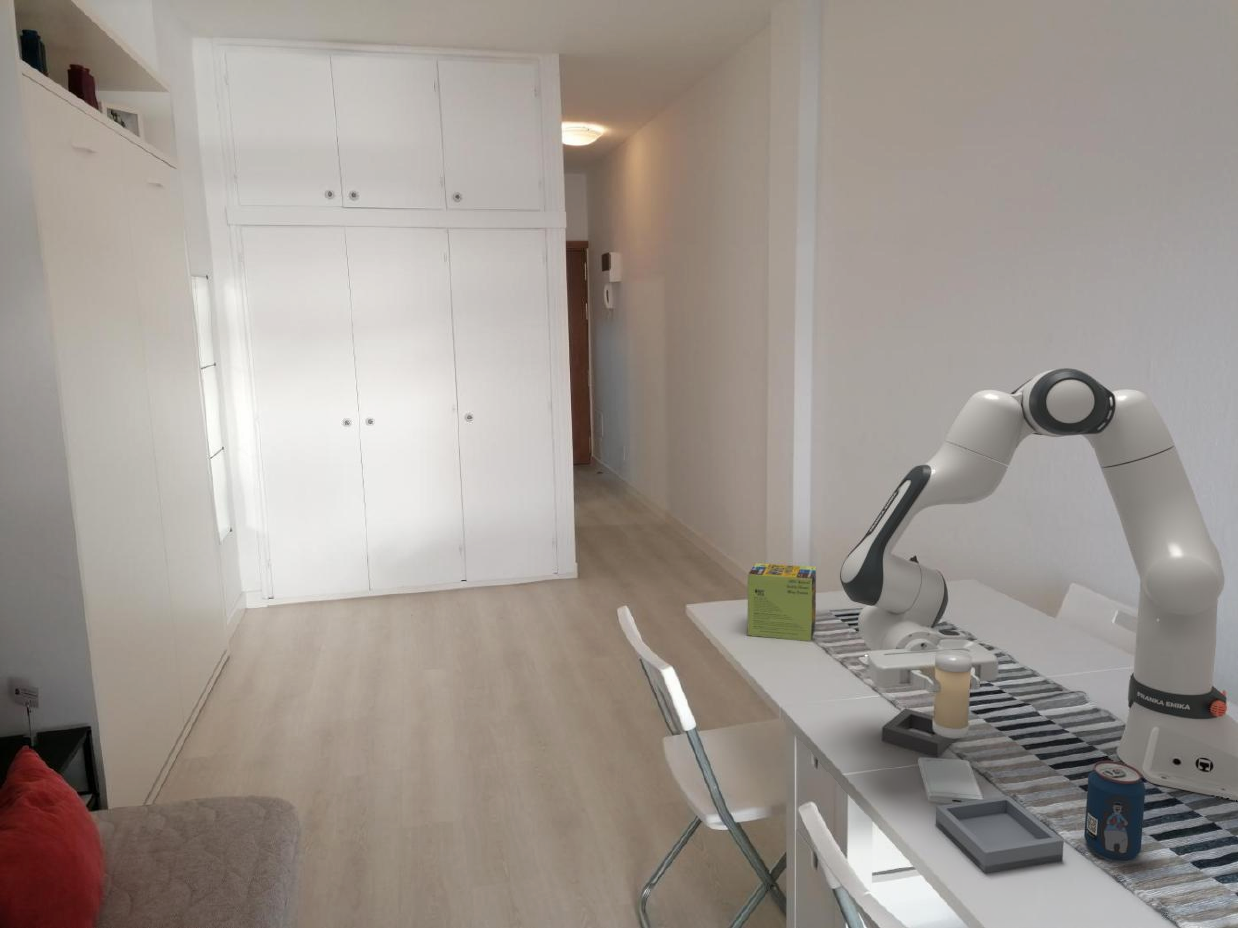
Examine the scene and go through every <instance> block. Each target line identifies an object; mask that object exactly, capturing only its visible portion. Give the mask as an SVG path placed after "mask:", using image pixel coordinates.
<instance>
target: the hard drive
mask: <svg viewBox="0 0 1238 928" xmlns="http://www.w3.org/2000/svg"><path fill="white" fill-rule="evenodd" d="M917 760H918V761H917V763H918V764H917V765H918V767H919V771H920V775H921V778H922V781H923V785H924V789H925V792H926V795H927V799H928V802H932V803H940V804H941V803H943V804H953V803H960V802H967V801H974V800H981V799H985V798H984V796H983V794H982V791H981V789H980V786H979V784H978V783H979V782H978V781H977V777H976V775H975V773H974V770H973V768H972V765H971V763H970V761H968V760H966V759H965V760H964V759H950V758H938V757H933V758H932V757H922V756H921V757H918V759H917Z"/></svg>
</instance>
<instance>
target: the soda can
mask: <svg viewBox="0 0 1238 928" xmlns="http://www.w3.org/2000/svg"><path fill="white" fill-rule="evenodd" d="M1144 783H1145V782H1143V780H1142V774H1141V773H1140V772H1139V771H1138V770H1136V769H1135V768H1133V767H1131V766H1129V765H1127V764H1126V763H1124V762H1119V761H1116V760H1100V761H1097V762H1096V763H1094V765H1093V769H1092V770H1091V771H1090V772H1089V773H1088V777H1087V791H1086V803H1085V820H1084V834H1083V835H1084V836H1083V837H1084V840H1085V842H1086V844H1087V845H1088V847H1089V850H1091V852H1092V853H1094V854H1095V855H1097V856H1098V857H1099V858H1102V859H1104V860H1107V861H1109V862H1115V863H1128V862H1131V861H1133V860H1134V859H1135V858H1136V857H1138V855H1139V853H1141V850H1142V841H1143V827H1144V814H1145V813H1144V812H1145V802H1146V801H1145V800H1146V799H1145V798H1146V786H1145V784H1144Z"/></svg>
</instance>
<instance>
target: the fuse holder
mask: <svg viewBox="0 0 1238 928" xmlns="http://www.w3.org/2000/svg"><path fill="white" fill-rule="evenodd" d="M933 717H934V715H932V714H928V713H925V712H920V711H918V710H914V709H910V708H907V707H905V708H904V709H902V710H901V711H900V712H899V713H898V714H896V715H895V716H894V717H893V718H892V719H890V720H889V721H887V723H886V724H884V725H883V726H882V727H881V728H882V729H881V741H883V742H886V743H888V744H892V745H896V746H899V747H902V748H905V749H909V750H912V751H914V752H919V753H921V754H925V755H929V756H930V757H931V756H932V757H933V758H938V757H940V756H941V754H942V753H944V752H945V751H946V750H947V748H949V746H951V745H952V743H954V742H955V741H956V740H958V738H947V737H943V736H941V735H938V734H937V733H935V732H934V731H933V729H932V724H933ZM910 728H914V729H917V730H921V731H924V732H927V733H931V734H933V735H932V736H931V735H930V736H929V735H926V734H923V733H920V732H915V731H914V730H913V731H912V730H911V729H910ZM909 729H910V730H909Z"/></svg>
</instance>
